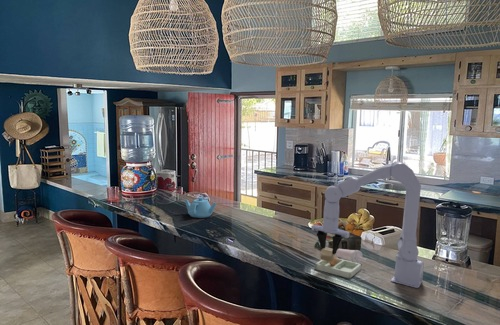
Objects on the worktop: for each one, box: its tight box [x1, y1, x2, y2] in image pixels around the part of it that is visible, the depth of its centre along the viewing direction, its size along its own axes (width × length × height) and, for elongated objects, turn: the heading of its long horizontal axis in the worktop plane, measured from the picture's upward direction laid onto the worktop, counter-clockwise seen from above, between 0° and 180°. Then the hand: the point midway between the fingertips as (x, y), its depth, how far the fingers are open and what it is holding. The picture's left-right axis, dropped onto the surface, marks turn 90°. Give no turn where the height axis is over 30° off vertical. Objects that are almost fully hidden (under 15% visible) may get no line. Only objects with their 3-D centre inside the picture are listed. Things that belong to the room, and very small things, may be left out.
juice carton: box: [314, 231, 363, 250], centre depth 179 cm, size 20×10×6 cm, turn 116°
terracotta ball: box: [329, 256, 338, 265], centre depth 154 cm, size 4×4×4 cm
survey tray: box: [314, 257, 362, 279], centre depth 151 cm, size 14×12×3 cm
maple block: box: [320, 247, 336, 262], centre depth 150 cm, size 4×4×4 cm
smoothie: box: [335, 249, 368, 265], centre depth 159 cm, size 6×6×14 cm
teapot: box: [184, 196, 217, 219], centre depth 228 cm, size 15×15×11 cm
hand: (328, 252), depth 150 cm, fingers closed on maple block, 4 cm apart
